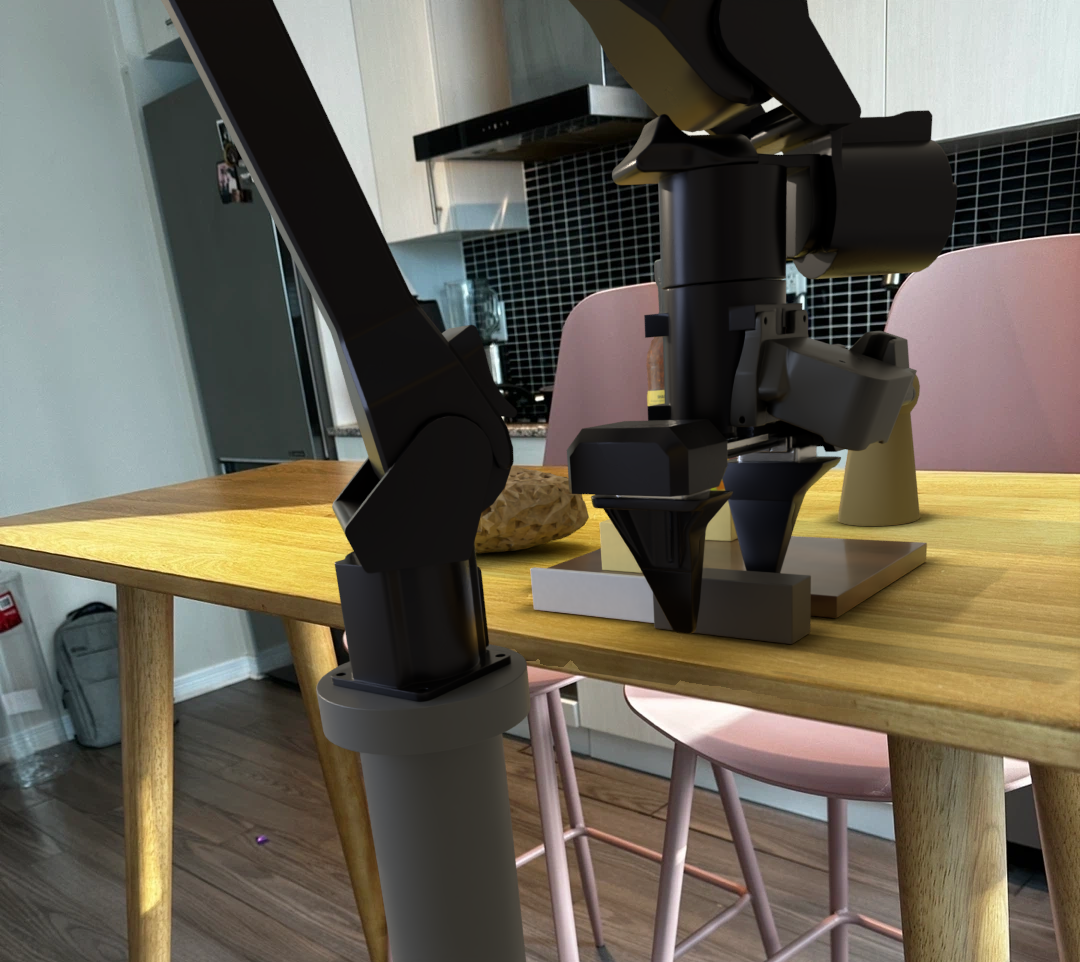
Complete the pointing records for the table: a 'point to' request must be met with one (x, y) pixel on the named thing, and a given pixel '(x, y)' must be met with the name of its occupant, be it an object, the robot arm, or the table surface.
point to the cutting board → (811, 566)
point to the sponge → (530, 513)
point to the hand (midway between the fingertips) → (726, 612)
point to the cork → (883, 478)
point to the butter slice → (721, 526)
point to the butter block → (615, 550)
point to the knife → (725, 604)
